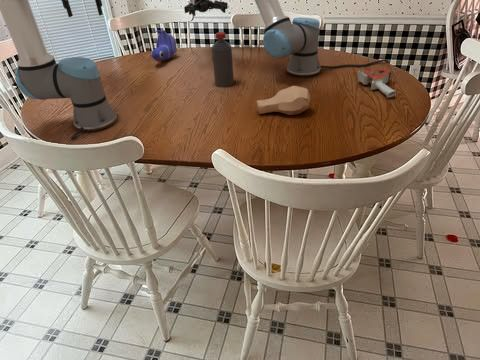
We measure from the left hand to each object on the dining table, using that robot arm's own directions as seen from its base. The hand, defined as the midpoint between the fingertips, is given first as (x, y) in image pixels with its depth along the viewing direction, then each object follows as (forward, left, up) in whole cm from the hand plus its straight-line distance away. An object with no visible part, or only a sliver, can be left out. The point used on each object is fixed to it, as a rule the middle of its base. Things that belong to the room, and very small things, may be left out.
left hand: (85, 15), depth 157 cm
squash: (-47, -84, -28) cm, 100 cm away
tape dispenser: (-28, -123, -28) cm, 130 cm away
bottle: (-15, -60, -28) cm, 68 cm away
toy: (+21, -26, -28) cm, 44 cm away
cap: (-15, -60, -7) cm, 62 cm away
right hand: (+2, -55, -1) cm, 55 cm away
